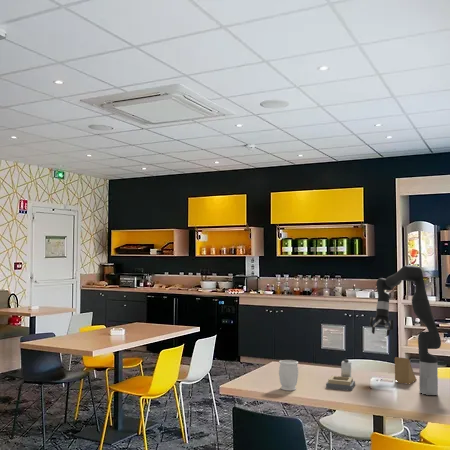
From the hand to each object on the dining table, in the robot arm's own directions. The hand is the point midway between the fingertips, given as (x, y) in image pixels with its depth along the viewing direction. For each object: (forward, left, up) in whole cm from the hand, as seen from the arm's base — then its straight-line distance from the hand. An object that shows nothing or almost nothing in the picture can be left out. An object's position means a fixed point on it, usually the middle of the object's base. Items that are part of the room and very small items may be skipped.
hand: (380, 334), depth 335 cm
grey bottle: (-20, +27, -25) cm, 42 cm away
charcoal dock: (-30, +33, -25) cm, 51 cm away
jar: (-37, +64, -26) cm, 78 cm away
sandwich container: (-14, -11, -26) cm, 31 cm away
